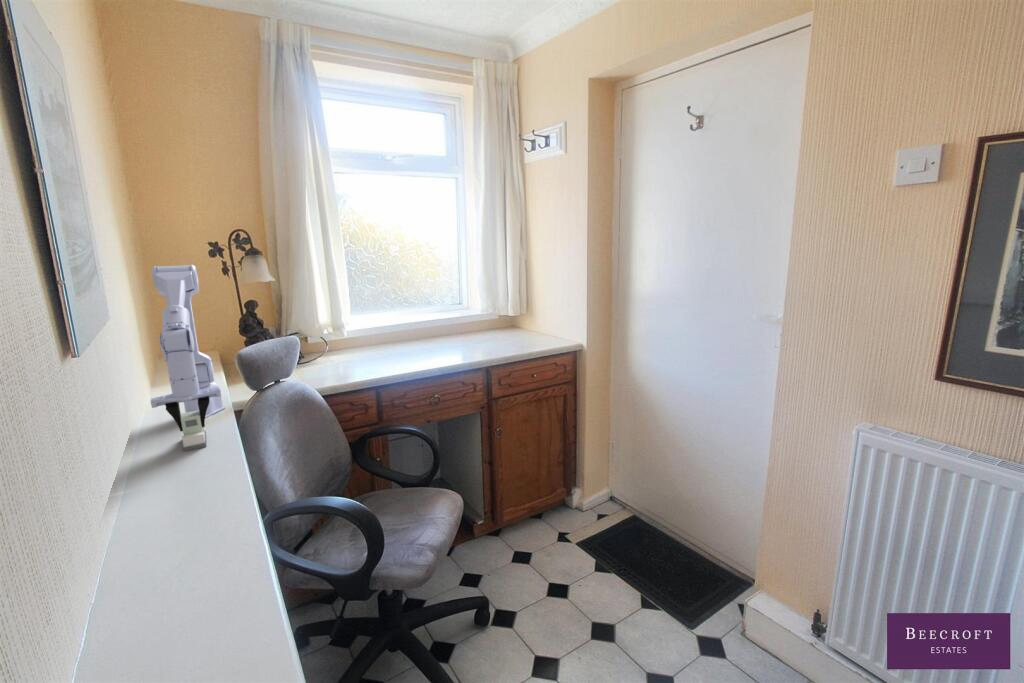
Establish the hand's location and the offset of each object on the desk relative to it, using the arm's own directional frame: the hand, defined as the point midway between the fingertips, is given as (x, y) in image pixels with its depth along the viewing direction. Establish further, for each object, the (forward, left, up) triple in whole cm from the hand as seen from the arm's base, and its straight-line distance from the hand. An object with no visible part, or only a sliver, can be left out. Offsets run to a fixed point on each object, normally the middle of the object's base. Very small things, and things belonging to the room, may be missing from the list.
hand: (192, 428), depth 122 cm
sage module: (0, 0, -2) cm, 2 cm away
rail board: (0, 0, -4) cm, 4 cm away
